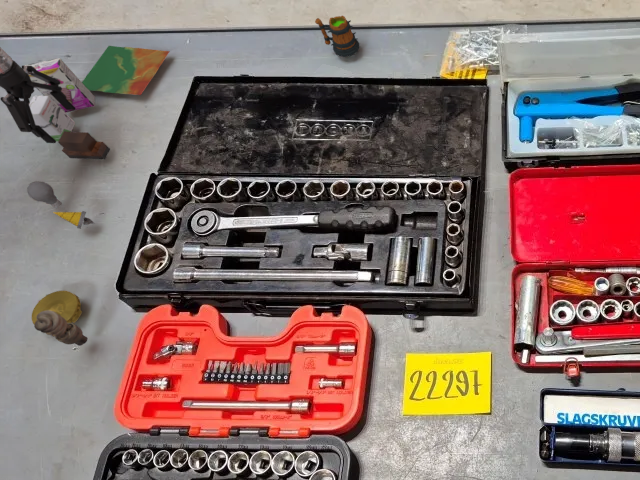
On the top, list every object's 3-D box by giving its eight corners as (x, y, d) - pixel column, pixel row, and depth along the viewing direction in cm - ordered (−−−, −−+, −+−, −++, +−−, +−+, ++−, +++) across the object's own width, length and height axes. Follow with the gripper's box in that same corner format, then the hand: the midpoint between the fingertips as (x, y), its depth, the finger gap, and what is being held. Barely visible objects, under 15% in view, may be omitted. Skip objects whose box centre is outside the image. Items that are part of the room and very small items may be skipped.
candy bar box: (61, 114, 183) (21, 75, 168) (62, 104, 185) (22, 64, 170) (95, 107, 184) (58, 67, 170) (96, 97, 186) (59, 56, 172)
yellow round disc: (35, 306, 151) (28, 302, 149) (78, 287, 153) (73, 283, 151) (41, 340, 146) (34, 336, 144) (86, 320, 148) (80, 316, 146)
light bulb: (44, 209, 165) (16, 188, 156) (59, 195, 168) (32, 174, 159) (58, 216, 164) (31, 195, 155) (73, 201, 166) (47, 181, 157)
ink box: (67, 141, 178) (38, 114, 167) (52, 141, 178) (22, 114, 167) (76, 122, 181) (48, 94, 171) (61, 122, 181) (32, 94, 171)
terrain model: (170, 52, 196) (169, 51, 195) (141, 96, 186) (140, 95, 186) (108, 45, 198) (107, 44, 198) (77, 88, 189) (75, 87, 188)
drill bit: (91, 234, 161) (49, 223, 155) (93, 227, 165) (52, 216, 159) (96, 219, 160) (54, 207, 154) (98, 212, 164) (56, 200, 157)
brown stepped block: (69, 158, 174) (51, 141, 167) (75, 147, 176) (57, 131, 169) (105, 159, 174) (88, 143, 167) (110, 149, 176) (94, 132, 169)
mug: (362, 38, 197) (353, 8, 187) (358, 57, 193) (348, 28, 182) (327, 38, 197) (316, 9, 187) (322, 57, 193) (311, 28, 183)
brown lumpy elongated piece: (81, 331, 147) (36, 307, 133) (99, 332, 146) (56, 309, 133) (71, 350, 144) (24, 327, 131) (90, 351, 144) (45, 329, 130)
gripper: (-10, 101, 139) (55, 157, 158) (34, 36, 150) (90, 96, 169) (-37, 100, 139) (31, 156, 159) (9, 35, 150) (67, 95, 169)
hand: (61, 125), depth 164 cm, fingers open, 13 cm apart
